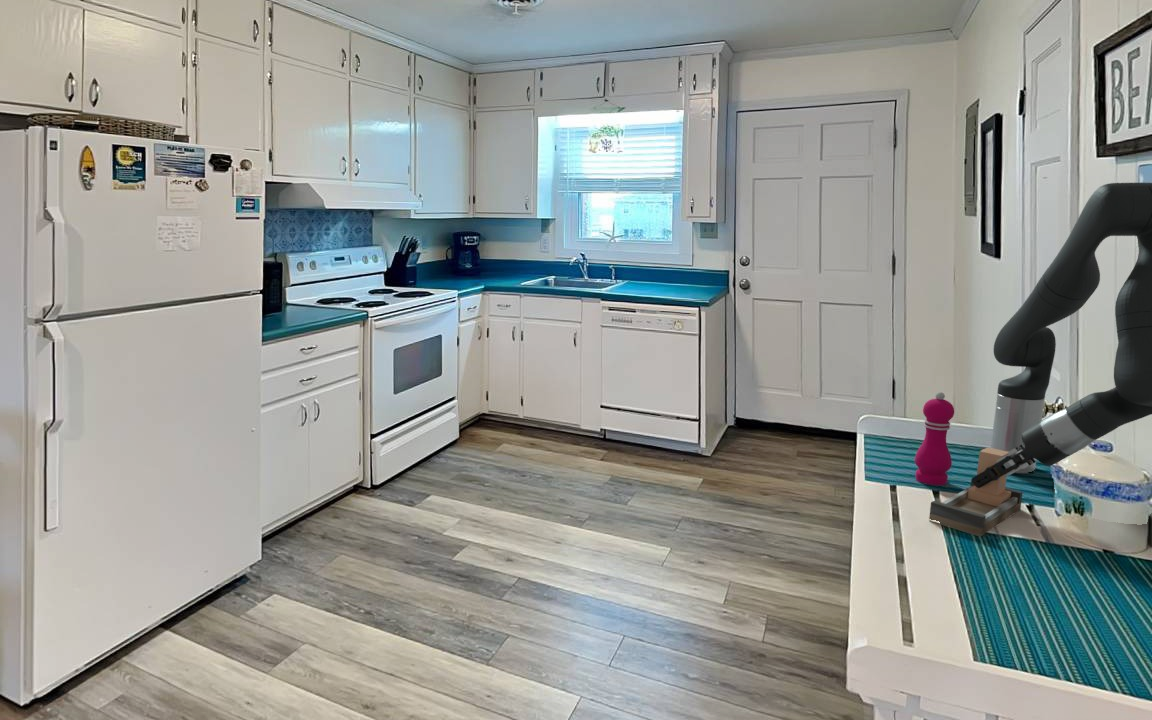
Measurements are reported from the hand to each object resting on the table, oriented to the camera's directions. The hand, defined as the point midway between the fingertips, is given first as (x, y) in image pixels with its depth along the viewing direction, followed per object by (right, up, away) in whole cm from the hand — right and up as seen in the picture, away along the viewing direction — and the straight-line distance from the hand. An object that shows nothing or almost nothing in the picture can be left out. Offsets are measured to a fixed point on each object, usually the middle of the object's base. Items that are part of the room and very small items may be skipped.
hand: (980, 480), depth 139 cm
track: (-3, -6, -4) cm, 8 cm away
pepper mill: (-3, -3, +15) cm, 15 cm away
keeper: (+1, -4, -1) cm, 4 cm away
